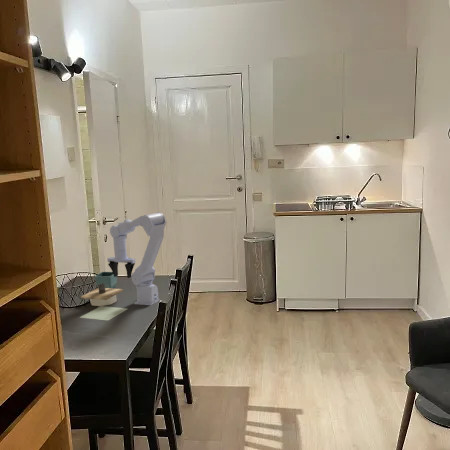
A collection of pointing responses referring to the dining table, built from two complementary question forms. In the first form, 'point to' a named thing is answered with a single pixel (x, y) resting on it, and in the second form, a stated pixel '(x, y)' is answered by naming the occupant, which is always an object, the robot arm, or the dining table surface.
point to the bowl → (103, 301)
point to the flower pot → (106, 279)
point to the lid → (102, 293)
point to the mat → (103, 313)
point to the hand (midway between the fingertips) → (122, 276)
